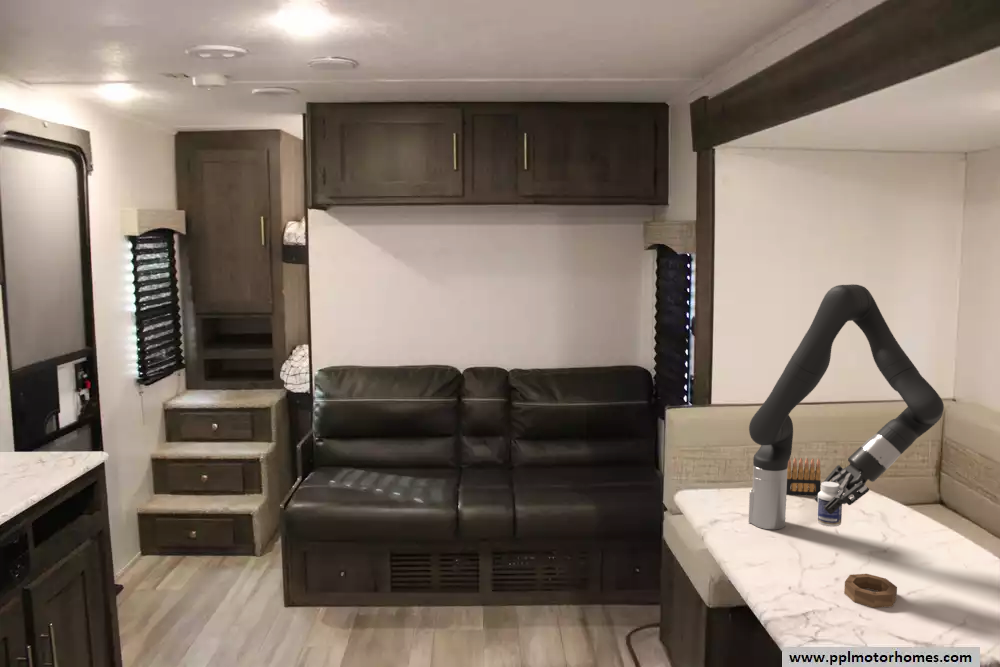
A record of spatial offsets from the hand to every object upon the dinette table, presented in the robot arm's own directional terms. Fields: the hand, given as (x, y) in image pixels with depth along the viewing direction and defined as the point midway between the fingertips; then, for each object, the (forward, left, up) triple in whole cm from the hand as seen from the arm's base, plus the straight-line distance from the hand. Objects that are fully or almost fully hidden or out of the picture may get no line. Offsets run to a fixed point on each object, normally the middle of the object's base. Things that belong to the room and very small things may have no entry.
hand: (822, 506), depth 184 cm
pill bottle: (+1, +1, -4) cm, 5 cm away
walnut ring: (+12, -2, -18) cm, 22 cm away
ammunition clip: (-22, +56, -19) cm, 63 cm away
